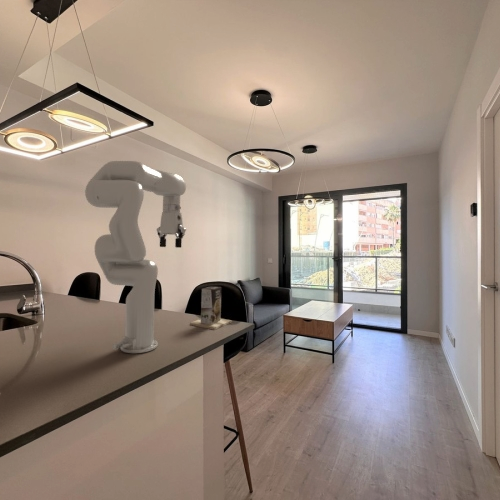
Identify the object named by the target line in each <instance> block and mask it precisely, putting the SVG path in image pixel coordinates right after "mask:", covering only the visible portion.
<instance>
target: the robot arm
mask: <svg viewBox="0 0 500 500" xmlns="http://www.w3.org/2000/svg"><path fill="white" fill-rule="evenodd" d="M186 189H187V185H186V181H185V179H183V177H182V176H180V175H179V174H175V173H172V172H167V171H163V170H159V169H154V168H152V167H150V166H148V165H147V164H144V163H142V162H140V161H136V160H110V161H107V163H105V164H103V166H101V167H100V168H99V170H98V171H97V172H96V173H95V174H94V175H93V176H92V177H91V178H90V179H89V180H88V182H87V184H86V186H85V189H84V193H85V198H86V201H87V202H88V203H89V204H90V206H91V205H92V206H93V207H95V208H112V209H114V208H115V209H116V208H117V209H116V211H115V212H114V214H113V215H112V217H111V219H110V221H109V224H108V230H109V233H108V234H103V235H101V236H99V237H98V238H97V239H96V241H95V244H94V256H95V259H96V261H97V263H98V264H99V267H100V269H101V270H102V272H103V275H104V277H105V279H106V280H107V282H109V283H110V284H112V285H115V286H128V287H129V286H130V287H132V288H131V290H130V292H129V293H128V294H127V296H126V298H125V329H124V331H125V332H124V333H125V335H124V336H122V339H121V340H120V341H118V342H114V343H112V348H113V350H117V349H120V351H121V352H124V353H127V354H142V353H147V352H151V351H153V350H155V349H157V348H158V346H159V343H158V341H157V340H156V339H154V336H155V335H154V334H155V332H154V330H155V329H154V328H155V294H156V293H155V291H156V290H155V289H156V283H157V279H158V275H159V274H158V272H159V271H158V270H159V269H158V265H157V263H155V261H153V260H149V259H146V256H147V250H146V245H145V241H144V240H143V236H142V233H141V231H140V227H139V216H140V212H141V207H142V205H143V200H144V196H145V194H144V192H145V191H146V192H151V193H153V194H155V195H157V196H161V197H162V212H161V215H160V223H159V224H160V226H158V227H157V228H156V233H157V235H158V238H159V247H160V248H166V247H167V238H166V237H167V235H174V236H175V239H174V241H175V242H174V243H175V245H174V247H175V248H176V249H177V248H182V242H183V241H182V239H183V238H184V236H185V234H186V231H187V228H186V227H184V224H183V215H182V212H181V209H182V207H181V196H182V195H184V194H185V193H186Z"/></svg>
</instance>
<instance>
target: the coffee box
mask: <svg viewBox="0 0 500 500" xmlns="http://www.w3.org/2000/svg"><path fill="white" fill-rule="evenodd" d="M200 306H201V308H200V309H201V310H200V319H201V323H204V324H211V325H212V324H214V323H216V322H218V321H220V320H221V319H222V317H221V315H222V313H221V312H222V287H221V286H208V287H203V288H201V302H200Z"/></svg>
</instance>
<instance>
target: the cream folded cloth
mask: <svg viewBox="0 0 500 500" xmlns="http://www.w3.org/2000/svg"><path fill="white" fill-rule="evenodd" d="M232 322H233V320H231V319H225V318H221V320H220V321H218V322H216V323H214V324H212V325H211V324H204V323H201V318H200V319H199V318H198V319H197V320H194V321H190V322H189V325H190V326H194V327H200V328H203V329H210V330H218V329H220V328H222V327H224V326H226V325H229V324H232Z"/></svg>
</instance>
